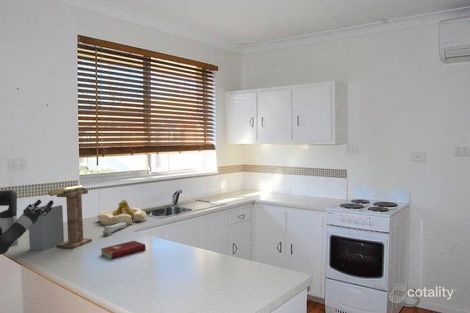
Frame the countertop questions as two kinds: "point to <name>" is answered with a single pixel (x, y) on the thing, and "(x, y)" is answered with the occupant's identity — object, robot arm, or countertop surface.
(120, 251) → the hardcover book
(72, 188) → the brass rod
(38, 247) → the grey cradle
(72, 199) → the walnut stand
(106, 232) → the toothbrush head
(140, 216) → the campfire
